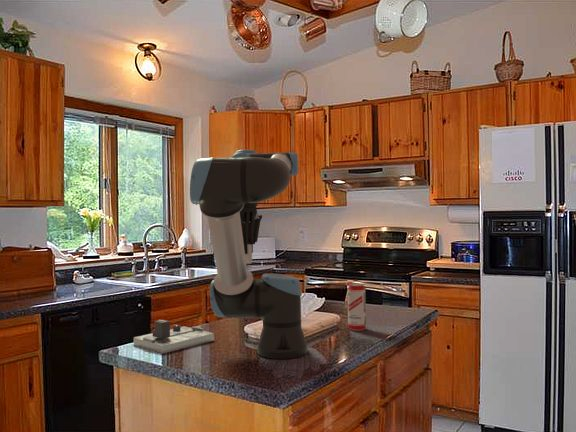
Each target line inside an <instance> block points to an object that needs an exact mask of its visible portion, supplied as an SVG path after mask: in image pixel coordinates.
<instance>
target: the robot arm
mask: <svg viewBox="0 0 576 432" xmlns="http://www.w3.org/2000/svg"><path fill="white" fill-rule="evenodd" d="M298 174H299V155H298V153H296V152H289V151H287V152H257V151H256V150H255V149H253V150H252V149H239V150H236V151H235V153H234V154H233V155H232V156H231V157H213V156H210V157H206V158H202V157H201V158H198V159H196V160H195V161H194V163H193V165H192V167H191V173H190V180H189V181H190V182H189V200H190V202H191V204H193V205H196V206H197V205H199V209H200V212H201V213H202V215H204V216H206V217H207V221H208V227H209V233H210V239H211V244H212V249H213V256H214V261H215V267H216V272H217V274H216V275H215V276H214V279H213V280H211V282H210V285H209V297H210V300H209V301H210V306H211V309H212V312H213V313H214V315H215V316H216V317H218V318H224V319H225V318H226V319H238V318H239V319H240V318H241V319H247V318H250V319H251V318H253V319H255V318H261V319H262V318H263V328H261V332H260V335H259V339H258V340H259V342H257V346H256V347H257V354H258V356H260V357H262V358H267V359H273V360H274V359H275V360H279V359H280V360H287V359H295V358H299V357H304V356H305V355H306V354H308V351H309V350H308V343H307V341H306V337H305V333H304V331H303V328H302V327H303V326H302V301H301V300H302V297H301V296H302V290H301V289H302V288H301V287H302V285H301V282H300V281H301V280H299V279H298V278H297V277H295V276H292V275H288V274H283V273H263V274H262V276H261V278H254V275H253V273H252V272H251V271H250V270H249V269H248V268H247V265H249V264H251V265H252V264H253V253H254V245H256V243H257V242H258V240H259V239H258V238H259V233H260V227H261V226H260V225H261V221H262V218H263V215H262V214H259V213H258V211H257V210H258V209H257V207H258V205H259V204H258V203H262V202H265V201H268V200H271V199H273V198H275V197H277V196H279V195H281V194H282V193H283V192H284V191H285V190H286V189H287V188H288V186H289V185H290V182H291V178H292V176H297V175H298Z"/></svg>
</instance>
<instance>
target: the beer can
mask: <svg viewBox="0 0 576 432" xmlns="http://www.w3.org/2000/svg"><path fill="white" fill-rule="evenodd" d="M348 285H349V286H348V288H347V328H348V329H349V330H350V331H354V332H361V331H362V332H363V331H364V330H365V329H366V326H367V324H366V323H367V322H366V321H367V318H366V312H367V311H366V306H367V305H366V304H367V302H366V288H365V286H364V284H363V283H353V282H352V283H349V284H348Z"/></svg>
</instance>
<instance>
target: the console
mask: <svg viewBox="0 0 576 432" xmlns="http://www.w3.org/2000/svg"><path fill="white" fill-rule="evenodd" d="M214 333H215V332H211V331H206V330H204V327H198V326H195V325H194V326H191V327H189V326H181V324H173V325H172V329H171V328H170V337H168V338H163V339H161V338H157V337H155V328H154V329H152V332H151V333H148V334H143V335H138V336H134V337H133V346H136V347H140V348H142V349H146V350H150V351H152V352H156V353H159V354H162V355H163V354H167V353H168V354H169V353H170V352H175V351H179V350H182V349H186V348H190V347H194V346H198V345H201V344H202V345H203V344H206V343H209V342H213V341H215V334H214Z"/></svg>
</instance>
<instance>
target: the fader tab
mask: <svg viewBox="0 0 576 432" xmlns="http://www.w3.org/2000/svg"><path fill="white" fill-rule="evenodd" d="M170 322H171V321H170V320H166V319H158V320H154V329H155V337H157V338H161V339H163V338H168V337H170V329H171V323H170Z"/></svg>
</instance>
